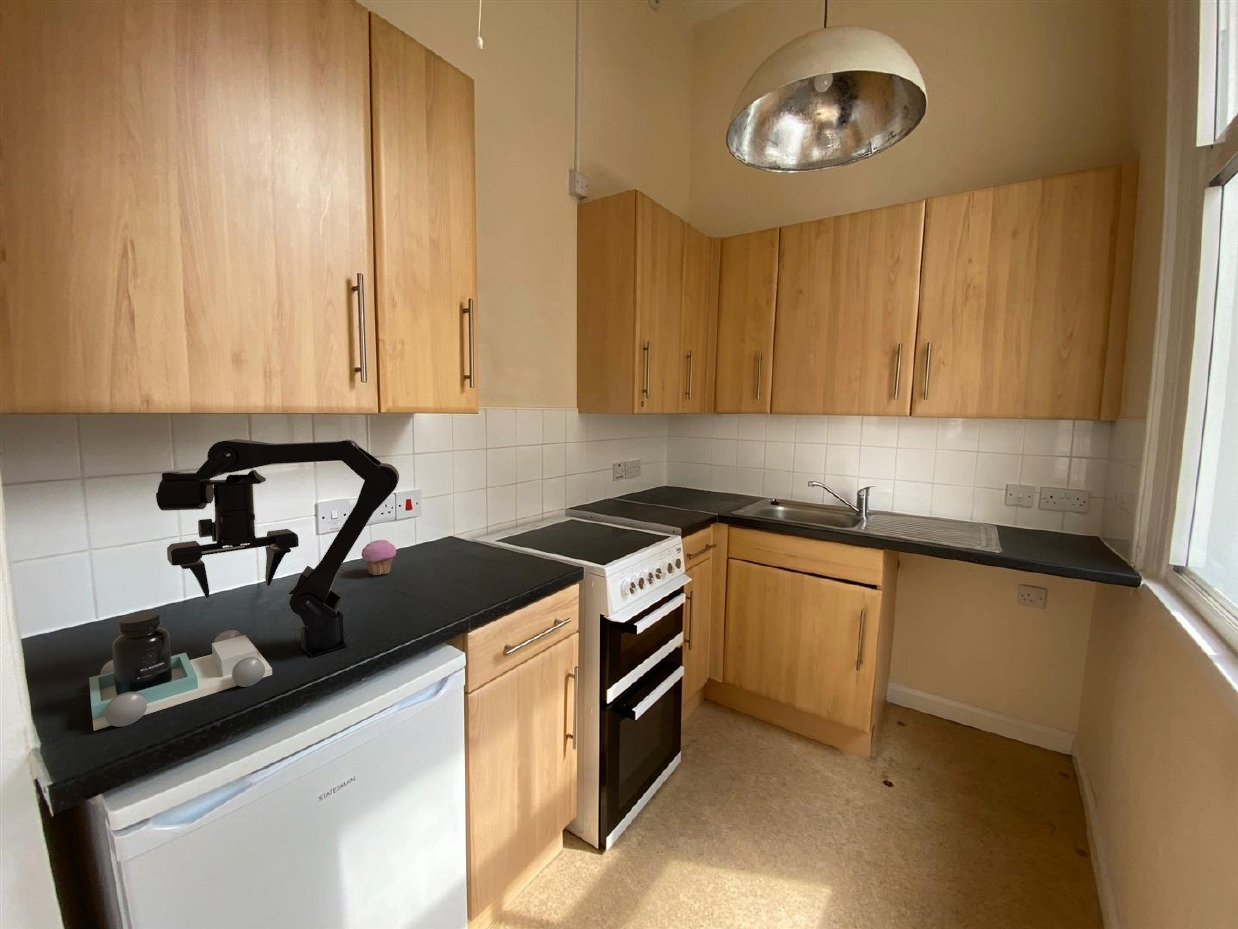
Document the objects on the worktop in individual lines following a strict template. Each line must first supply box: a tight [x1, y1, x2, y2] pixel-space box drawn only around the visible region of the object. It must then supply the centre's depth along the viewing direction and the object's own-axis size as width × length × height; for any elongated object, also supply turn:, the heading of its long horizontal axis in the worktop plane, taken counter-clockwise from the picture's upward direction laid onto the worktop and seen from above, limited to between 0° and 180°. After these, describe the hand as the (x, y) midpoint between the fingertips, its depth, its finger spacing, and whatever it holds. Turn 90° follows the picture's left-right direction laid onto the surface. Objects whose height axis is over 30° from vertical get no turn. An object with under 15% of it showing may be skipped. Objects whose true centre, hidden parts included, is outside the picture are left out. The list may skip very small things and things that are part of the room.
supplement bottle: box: [111, 611, 172, 696], centre depth 82 cm, size 7×7×12 cm
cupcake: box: [361, 539, 397, 576], centre depth 145 cm, size 9×9×10 cm
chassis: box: [88, 629, 273, 731], centre depth 86 cm, size 22×17×4 cm
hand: (238, 591), depth 94 cm, fingers open, 9 cm apart
